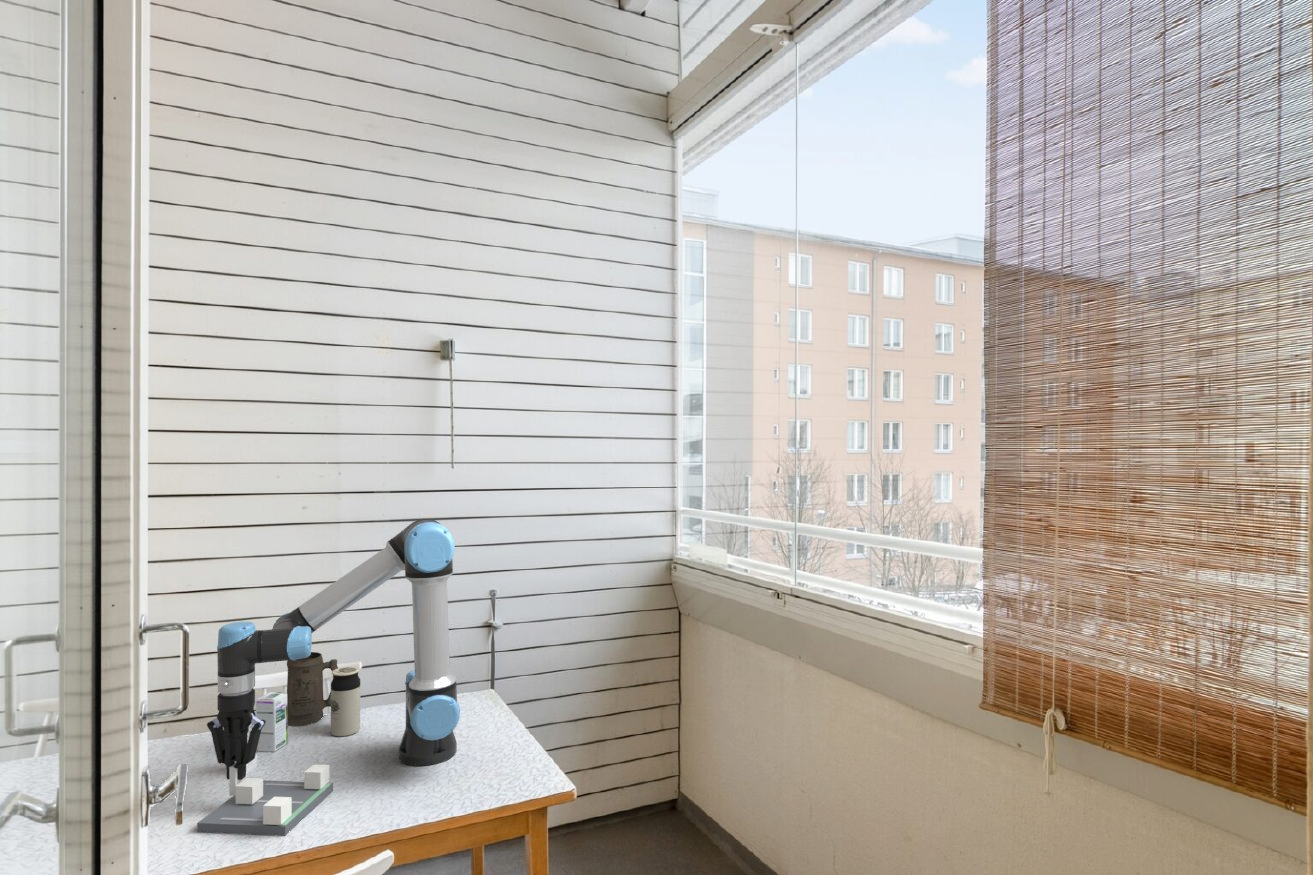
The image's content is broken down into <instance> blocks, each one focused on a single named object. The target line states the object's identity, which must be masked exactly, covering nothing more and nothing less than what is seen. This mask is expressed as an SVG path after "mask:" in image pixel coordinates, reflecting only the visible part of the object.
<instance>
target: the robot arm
mask: <svg viewBox="0 0 1313 875" xmlns="http://www.w3.org/2000/svg"><path fill="white" fill-rule="evenodd" d="M455 548H456V547H455V540H454V537H453V535H452V533H451V532H450V531H449V530H448V529H447V528H446V527H445V526H444V525H442V523H440V522H439V521H437V520H435V519H431V518H421V519H417V520H415V521H413V522H411V523H410V524H409V525H407V526H406V527H405V528H404V529H402V530H401V531H400V532H398V533H397V534H395V536H393V537H392V538H391V539H389V540H388V541H386V545H385V547H384V548H382V549H381V550H380V551H378V552H377V553H376V554H373V555H372V556H371V557H370V558H368V559H366V560H365V561H364V562H362V563H361V564H359V565H358V566H356V567H354V568H353V569H352V570H350V571H349V572H347V573H346V574H345V575H343V576H342V577H340V578H339V579H337V580H335V581H334V582H333V583H332V584H330V585H328V586H327V587H325V588H324V589H322V590H321V591H319V592H318V593H317V594H315V595H314V596H312V597H311V598H309V599H308V600H307V601H304V603H302V604H301V605H299V606H298V607H297V608H295V609H293V610H292V611H290V612H287V613H284V614H282V615H281V616H280V617H278V618H277V619H276V620H275V622H274V623H273V626H272V629H261V630H260V629H257V628H256V624H255V623H254V622H251V621H236V622H230V623H228V624H227V623H225V624H224V625H223V626H221V627H220V628H219V630H218V633H217V636H218V637H217V646H216V650H217V651H216V652H217V656H216V657H217V693H218V695H217V710H218V713H217V716H216V717H215V718H213V719H212V720H210V721H208V722H207V723H206V727H207V728H208V730H209V731H210V734H211V738H212V743H213V747H214V752H215V755H216V760H217V763H218V764H224V765H225V767H226V775H225V776H226V780H229V783H228V784H229V788H228V789H229V793H228V794H229V796H230V797H233V796H236V786H237V785H238V784H239V783H241V782H242V781H244V779H246V778H247V777H246V776H247V773H246V764H248V763H249V762H251V761H252V760H254V758H255V755H256V753H257V746H258V742H259V738H260V733H261V729H262V728H263V726H264V725H265V723H266V721H265V720H259V719H258V718H256V711H255V710H254V709H255V708H254V707H255V706H256V689H254V688H255V687H256V664H264V663H273V662H275V663H276V662H287V660H297V659H302V658H307V657H309V656H310V654H311V652H312V645H313V644H312V642H313V641H312V638H313V637H312V634H313V633H315V631H317V630H318V629H320V628H321V627H322V626H324V625H325V624H327V623H329V622H330V621H332V620H333V619H334V618H336V617H337V616H339V615H340V614H342V613H343V612H344V611H345V610H347V609H348V608H350V607H352V606H353V605H355V604H356V603H358V602H359V601H360V600H362V599H363V598H364V597H366V596H367V595H369V594H370V593H372V592H373V591H375V590H376V589H377V588H379V587H380V586H382V585H383V584H384V583H386V582H388V581H389V580H390V579H392V578H393V577H395V576H396V575H398V574H399V573H401V572H402V571H404V577H405V579H407V581H409V582H410V583H411V595H412V598H411V599H412V601H411V602H412V628H413V629H412V630H413V631H412V632H413V655H414V657H413V658H414V660H413V661H414V662H413V663H414V669H412V670H411V671H408V672H407V673H406V675H405V676H406V677H405V682H404V685H405V729H404V731H403V735H402V737H401V741H400V743H399V746H398V760H399V761H400V762H401V763H403V764H405V765H409V766H419V767H420V766H421V767H422V766H431V765H436V764H440V763H443V762H446V761H448V760H450V759H451V758H452V757H454V756H455V755H456V753H457V747H458V746H457V739H456V736H455V733H454V731H455V729H456V727H457V725H459V720H460V716H461V708H460V706H459V703H458V694H457V693H458V692H457V691H458V690H457V688H458V687H457V677H456V675H454V674H453V673H452V672H451V666H450V663H451V662H450V631H449V628H450V627H449V604H448V598H449V597H448V579H450V577H451V576H452V575H453V574H454V568H453V566H454V564H453V563H454V562H453V557H454V555H455ZM250 725H251V726H250ZM250 729H251V730H250ZM249 730H250V732H249ZM248 733H249V736H248ZM247 739H248V743H247ZM235 762H236V763H235Z"/></svg>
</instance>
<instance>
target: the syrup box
mask: <svg viewBox="0 0 1313 875" xmlns="http://www.w3.org/2000/svg"><path fill="white" fill-rule="evenodd" d="M255 714H256V716H255V717H256V718H258V719H259V720H265V721H266V723H265V725H264V726H263V728H262V729H261V733H260V738H259V742H258V746H257V751H258V752H265V751H272V753H275V752H277V751H278V750H280V749H281V748H282V747H284V746H286V745H287V744H288V743H289V739H288V738H289V737H288V736H289V735H288V732H289V730H288V728H289V727H288V726H289V725H288V717H287V692H283V691H282V692H281V691H272V692H271V691H270V692H267V693H266V694H264V695H261V697H259V698H255ZM257 751H256V752H257Z"/></svg>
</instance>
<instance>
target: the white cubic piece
mask: <svg viewBox="0 0 1313 875" xmlns="http://www.w3.org/2000/svg"><path fill="white" fill-rule="evenodd" d="M303 774H304V778H303V779H304V780H303V782H304V789H321V788H323V787H324V786H325V785H326V784H327V783H330V764H312V765H311V766H310V767H309V768H307V769H306V770H305V771H304V773H303Z"/></svg>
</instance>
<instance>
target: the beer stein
mask: <svg viewBox="0 0 1313 875" xmlns="http://www.w3.org/2000/svg"><path fill="white" fill-rule="evenodd" d="M286 666H287V682H286V693H287V717H288V726H289V727H290V726H292V727H302V726H307V725H313V724H315V723H317V722H320V721H322V719H323V718H324V716H325V714H324V709H325V708H328V707H330V708H331V690H330V692H329V694H328V698H327V699H324V673H323V672H324V670H326V669H329V670H331V672H332V671H333V670H335V669H338V668H339V666H338V659H336V658H335V659H334V658H332V659H330V660H329V661H326V662H325V661H324V659H323V654H322V653H321V652H316V651H311V654H310V656H309V657H307V658H302V659H297V660H287V661H286ZM322 717H323V718H322ZM321 718H322V719H321Z"/></svg>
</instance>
